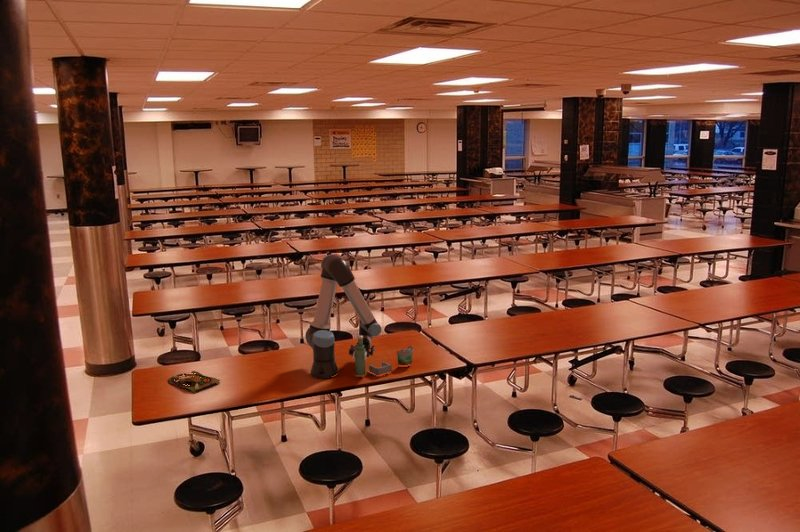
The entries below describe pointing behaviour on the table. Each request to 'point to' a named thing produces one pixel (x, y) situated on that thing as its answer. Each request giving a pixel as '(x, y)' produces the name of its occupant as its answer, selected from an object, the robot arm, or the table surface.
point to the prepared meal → (193, 381)
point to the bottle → (360, 357)
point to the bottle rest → (381, 370)
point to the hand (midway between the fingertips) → (359, 357)
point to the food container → (405, 356)
